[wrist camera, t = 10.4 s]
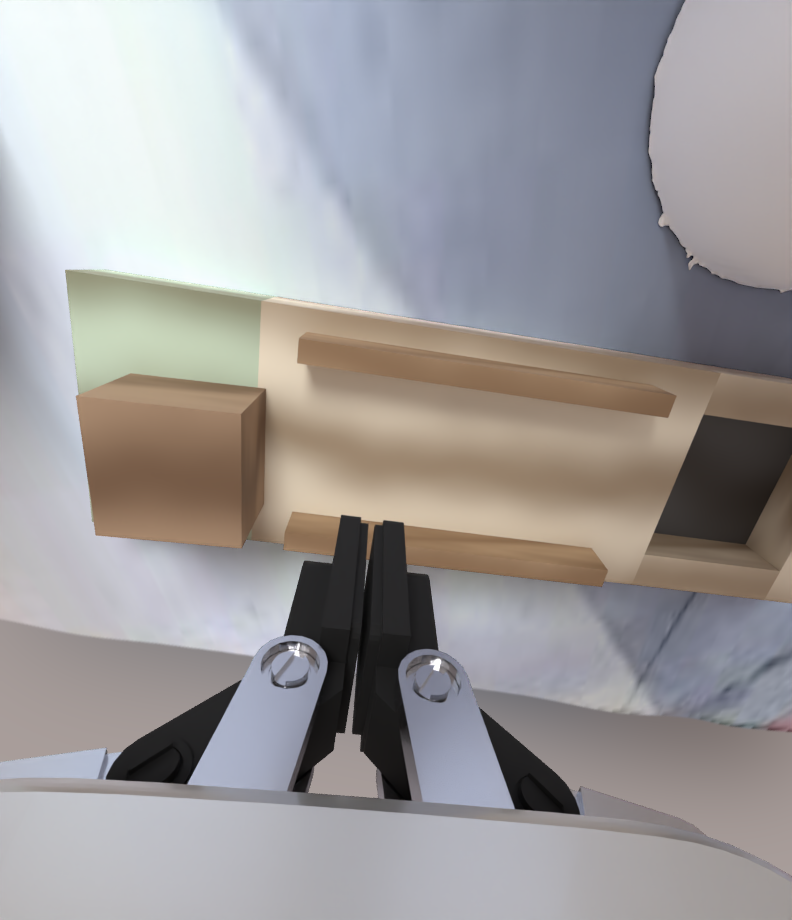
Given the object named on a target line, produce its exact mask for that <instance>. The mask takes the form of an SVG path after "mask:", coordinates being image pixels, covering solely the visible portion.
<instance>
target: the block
mask: <svg viewBox="0 0 792 920" xmlns="http://www.w3.org/2000/svg"><path fill="white" fill-rule="evenodd" d="M76 400H77V407H78V414H79V421H80V428H81V435H82V442H83V449H84V456H85V463H86V470H87V477H88V484H89V491H90V498H91V505H92V512H93V519H94V526H95V533H96V535H98V536H109V537H120V538H131V539H142V540H153V541H164V542H176V543H187V544H198V545H209V546H220V547H231V548H242V547H243V545H244V543H245V541H246V539H247V537H248V535H249V533H250V531H251V529H252V527H253V525H254V523H255V521H256V519H257V517H258V515H259V513H260V511H261V509H262V507H263V505H264V478H265V419H266V389H265V388H256V387H248V386H239V385H230V384H221V383H212V382H204V381H195V380H186V379H177V378H168V377H159V376H151V375H142V374H133V373H130V374H128V375H125V376H123V377H121V378H118V379H116V380H113V381H111V382H108V383H106V384H104V385H101V386H99V387H96V388H94V389H92V390H89V391H87V392H84V393H82V394H80V395H77V396H76Z"/></svg>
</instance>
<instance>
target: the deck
mask: <svg viewBox="0 0 792 920" xmlns="http://www.w3.org/2000/svg"><path fill="white" fill-rule="evenodd" d="M65 272H66V282H67V291H68V300H69V310H70V319H71V328H72V338H73V347H74V356H75V365H76V375H77V384H78V393H79V395H80V394H82V393H84V392H87V391H89V390H92V389H94V388H96V387H99V386H101V385H104V384H106V383H108V382H111V381H113V380H116V379H118V378H121V377H123V376H125V375H128V374H130V373H133V374H142V375H151V376H159V377H168V378H177V379H186V380H195V381H204V382H212V383H221V384H230V385H239V386H248V387H256V388H265V389H266V419H265V478H264V505H263V507H262V509H261V511H260V513H259V515H258V517H257V519H256V521H255V523H254V525H253V527H252V529H251V531H250V533H249V535H248V537H247V539H246V540H255V541H263V542H272V543H280V544H284V548H283V550H288V551H297V552H305V553H314V554H323V555H331V556H334V553H335V547H336V541H337V535H338V530H339V524H340V518H341V515H347V516H356V517H361V523H368V524H369V527H368V541H367V556H366V560H369V557H370V551H371V545H372V539H373V532H374V526H375V524H376V525H382V524H383V520H388V521H396V522H403V523H404V531H405V547H406V564H409V565H418V566H426V567H435V568H443V569H452V570H461V571H469V572H478V573H487V574H495V575H504V576H513V577H521V578H530V579H538V580H547V581H556V582H564V583H573V584H582V585H590V586H599V587H602V585H603V583H604V581H605V582H614V583H623V584H631V585H640V586H648V587H657V588H665V589H674V590H682V591H691V592H700V593H708V594H717V595H725V596H734V597H742V598H751V599H759V600H768V601H777V602H785V603H792V379H791V378H785V377H779V376H773V375H766V374H760V373H754V372H747V371H741V370H735V369H728V368H722V367H716V366H710V365H703V364H697V363H691V362H684V361H678V360H672V359H665V358H659V357H653V356H647V355H640V354H634V353H628V352H621V351H615V350H609V349H602V348H596V347H590V346H584V345H577V344H571V343H565V342H558V341H552V340H546V339H539V338H533V337H527V336H520V335H514V334H508V333H502V332H495V331H489V330H483V329H476V328H470V327H464V326H457V325H451V324H445V323H439V322H432V321H426V320H420V319H413V318H407V317H401V316H394V315H388V314H382V313H376V312H369V311H363V310H357V309H350V308H344V307H338V306H331V305H325V304H319V303H313V302H306V301H300V300H294V299H287V298H281V297H275V296H268V295H262V294H256V293H250V292H243V291H237V290H231V289H224V288H218V287H212V286H205V285H199V284H193V283H187V282H180V281H174V280H168V279H161V278H155V277H149V276H142V275H136V274H130V273H124V272H117V271H111V270H65ZM88 486H89V484H88ZM89 496H90V491H89ZM90 505H91V498H90ZM91 514H92V522H94V519H93V512H92V505H91Z"/></svg>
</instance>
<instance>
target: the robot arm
mask: <svg viewBox="0 0 792 920" xmlns="http://www.w3.org/2000/svg"><path fill="white" fill-rule="evenodd" d="M368 527H369V524H368V523H361V517H356V516H347V515H341V518H340V524H339V530H338V535H337V541H336V547H335V553H334V558H333V564H330V563H321V562H313V561H304V563H303V566H302V570H301V574H300V578H299V581H298V585H297V589H296V592H295V596H294V600H293V604H292V607H291V611H290V615H289V619H288V622H287V626H286V630H285V634H284V636H282V637H278V638H276V639H273V640H271V641H269V642H268V643H266V644H265V645H264V646H262V647H261V648H260V650H259V651H258V652H257V654H256V655H255V657H254V658H253V660H252V662H251V664H250V666H249V668H248V670H247V672H246V674H245V676H244V678H243V679H242V680H240V681H239V682H237V683H235V684H233V685H232V686H230V687H228V688H227V689H225V690H223V691H221V692H220V693H218V694H216V695H214V696H213V697H211V698H209V699H207V700H206V701H204V702H202V703H200V704H199V705H197V706H195V707H194V708H192V709H190V710H188V711H187V712H185V713H183V714H181V715H180V716H178V717H176V718H174V719H173V720H171V721H169V722H168V723H166V724H164V725H162V726H161V727H159V728H157V729H155V730H154V731H152V732H150V733H149V734H147V735H145V736H143V737H141V738H140V739H138V740H137V741H135V742H134V743H133V744H131V745H130V746H128V747H127V748H126V749H125V750H124V751H123V752H118V753H111V754H107V748H101V749H94V750H86V751H79V752H71V753H64V754H56V755H49V756H42V757H34V758H27V759H20V760H12V761H5V762H0V920H792V876H791V875H789V874H787V873H786V872H784V871H782V870H781V869H779V868H777V867H775V866H773V865H772V864H770V863H769V862H767V861H765V860H762V859H760V858H758V857H756V856H754V855H752V854H750V853H748V852H745V851H744V850H741V849H739V848H737V847H735V846H733V845H730V844H727V843H724V842H721V841H718V840H716V839H713V838H710V837H707V836H706V835H705V834H704V833H702V832H701V831H700V830H699V829H698V828H696V827H695V826H694V825H692V824H690V823H688V822H686V821H684V820H682V819H680V818H678V817H675V816H672V815H668V814H665V813H662V812H659V811H656V810H653V809H650V808H647V807H644V806H641V805H638V804H634V803H631V802H628V801H625V800H622V799H619V798H616V797H613V796H610V795H607V794H603V793H600V792H597V791H594V790H591V789H588V788H585V787H582V786H581V787H580V789H579V791H578V792H577V791H575V790H571V789H569V787H568V786H567V784H566V783H565V782H564V781H563V780H562V779H561V778H560V777H559V776H558V775H557V774H556V773H555V772H554V771H553V770H551V769H550V768H549V767H548V766H547V765H545V764H544V763H543V762H542V761H541V760H540V759H539V758H538V757H536V756H535V755H534V754H533V753H532V752H531V751H529V750H528V749H527V748H526V747H525V746H524V745H522V744H521V743H520V742H519V741H518V740H517V739H515V738H514V737H513V736H512V735H511V734H509V733H508V732H507V731H506V730H505V729H504V728H503V727H501V726H500V725H499V724H498V723H497V722H496V721H494V720H493V719H492V718H491V717H490V716H489V715H487V714H486V713H485V712H484V711H483V710H482V709H480V708H479V707H478V704H477V701H476V699H475V696H474V693H473V690H472V687H471V684H470V681H469V679H468V676H467V674H466V672H465V670H464V669H463V667H462V666H461V665H460V664H459V663H458V662H457V661H456V660H455V659H454V658H452V657H451V656H449V655H448V654H446V653H443V652H440V651H438V643H437V636H436V628H435V620H434V612H433V604H432V596H431V588H430V580H429V576H428V575H425V574H417V573H408V572H407V564H406V547H405V531H404V523H403V522H396V521H388V520H383V524H382V525H376V524H375V526H374V532H373V539H372V545H371V551H370V557H369V564H368V570H367V576H366V583H365V570H366V556H367V541H368ZM364 585H365V589H364ZM357 654H358V659H357ZM356 661H357V673H356V687H355V701H354V714H353V728H352V733H353V734H359V735H361V747H360V751H361V752H364V754H365V755H366V756H367V757H368V758H369V759H370V760H371V762H373V764H374V765H375V766H376V767H377V770H376V783H377V791H378V798H366V797H354V796H340V795H327V794H313V793H308V792H309V788H310V785H311V781H312V778H313V773H314V766H315V765H316V764H317V763H318V762H320V761H321V760H322V759H323V758H325V757H326V756H327V755H328V754H329V753H331V752H332V751H333V750H334V742H335V737H336V733H345V728H346V722H347V715H348V709H349V703H350V697H351V691H352V685H353V679H354V673H355V667H356Z"/></svg>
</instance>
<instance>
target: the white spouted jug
mask: <svg viewBox="0 0 792 920" xmlns="http://www.w3.org/2000/svg"><path fill="white" fill-rule="evenodd" d="M654 78H655V97H654V100H653V105H652V107H653V109H652V113H651V126H650V131H651V134H650V137H649V150H648V152H649V155H650V158H651V160H652V176H653V179H652V181H653V183H654V185H655V189H656V190H658V196H659V197H660V200H661V205H662V210H663V212H664V213H663V214H662V215H661V217H660V219H659V221H658V224H659V225H660V226H661V227H663V226H664V225H668V226H670V229H671V230H672V231H673V232H674V234H676V235H677V237H678V239H679V240H680V242H679V243H680V244H681V245H682V246H683V247H686V252H687V258H688V257H690V256H692V255H693V256H694V257H693V259H692V260H691V261H690V262H689V263H688V266H689V270H690V269H691V268H692V266H693V265H694V264H697V263H699V265H700V266H703V267H705V268H708V270H710V271H711V273H712V274H716V275H718V276H720V277H721V278H725V279H729V280H732V281H734V282H736V283H738V284H742V285H747V286H754V287H755V288H759V287H761V288H766V289H768V288H770V289H779V290H780V292H781V293H782V292H785V291H789V290H792V0H685V2H684V4H683V6H682V9H681V12H680V13H679V15H678V17H677V19H676V22H675V25H674V28H673V30H672V33H671V34H670V35H669V37H668V42H667V44H666V47H665V49H664V56H663V57H662V59H661V61H660V63H659V65H658V68H657V71H656V74H655V76H654Z"/></svg>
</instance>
